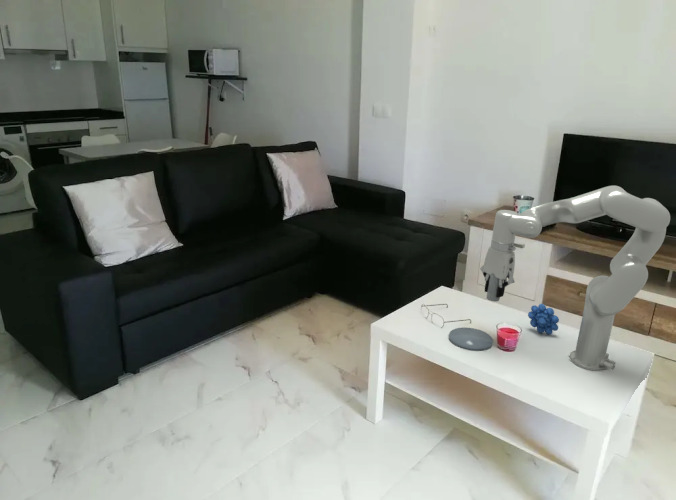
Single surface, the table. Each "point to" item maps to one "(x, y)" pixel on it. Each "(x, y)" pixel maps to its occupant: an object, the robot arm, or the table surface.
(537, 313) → the grapes
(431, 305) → the eyeglasses
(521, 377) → the table surface
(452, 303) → the table surface
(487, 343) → the dish
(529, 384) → the table surface
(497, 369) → the table surface
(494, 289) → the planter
